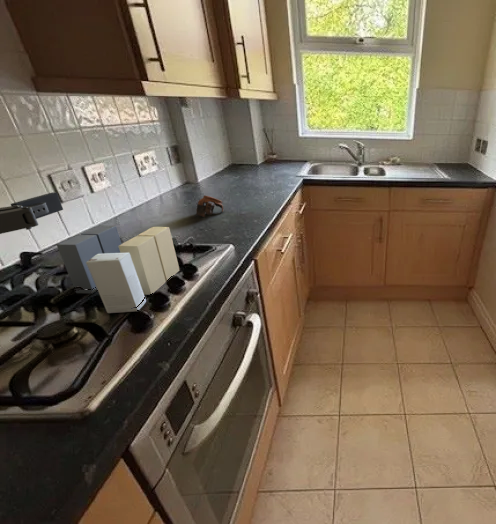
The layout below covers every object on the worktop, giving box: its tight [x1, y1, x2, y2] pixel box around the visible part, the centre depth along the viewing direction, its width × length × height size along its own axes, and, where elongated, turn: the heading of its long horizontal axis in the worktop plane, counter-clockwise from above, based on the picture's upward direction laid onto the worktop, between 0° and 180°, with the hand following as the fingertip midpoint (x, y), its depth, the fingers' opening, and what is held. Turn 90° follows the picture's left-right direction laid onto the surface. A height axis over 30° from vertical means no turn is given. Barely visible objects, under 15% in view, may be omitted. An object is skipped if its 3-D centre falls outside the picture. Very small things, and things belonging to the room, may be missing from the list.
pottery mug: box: [195, 195, 224, 218], centre depth 130 cm, size 12×10×8 cm
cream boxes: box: [118, 226, 180, 296], centre depth 78 cm, size 4×12×12 cm, turn 0°
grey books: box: [56, 224, 123, 294], centre depth 78 cm, size 4×12×12 cm, turn 0°
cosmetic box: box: [86, 253, 147, 314], centre depth 68 cm, size 6×4×12 cm
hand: (13, 199), depth 51 cm, fingers open, 13 cm apart
